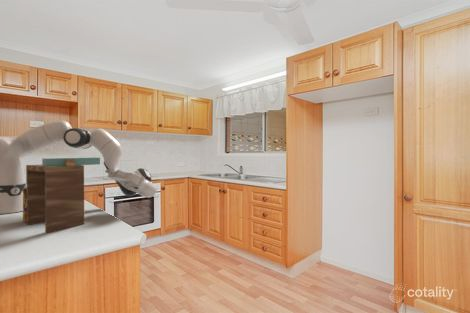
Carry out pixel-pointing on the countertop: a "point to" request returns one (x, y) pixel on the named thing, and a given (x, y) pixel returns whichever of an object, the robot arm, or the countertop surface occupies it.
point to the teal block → (61, 161)
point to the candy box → (24, 205)
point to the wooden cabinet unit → (55, 195)
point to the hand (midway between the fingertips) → (111, 170)
